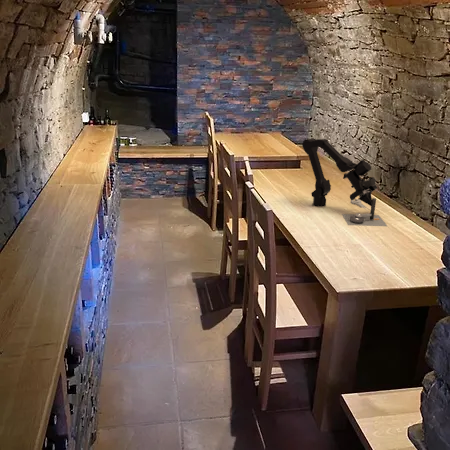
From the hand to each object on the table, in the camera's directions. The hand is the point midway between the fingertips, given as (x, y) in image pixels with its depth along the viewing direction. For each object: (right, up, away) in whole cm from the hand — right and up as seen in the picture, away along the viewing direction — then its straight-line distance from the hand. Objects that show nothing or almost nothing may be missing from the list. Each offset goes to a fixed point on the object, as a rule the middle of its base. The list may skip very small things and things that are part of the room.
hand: (372, 205), depth 256 cm
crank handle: (-6, -7, 0) cm, 10 cm away
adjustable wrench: (+1, -1, +24) cm, 24 cm away
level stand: (-4, -8, +1) cm, 9 cm away
